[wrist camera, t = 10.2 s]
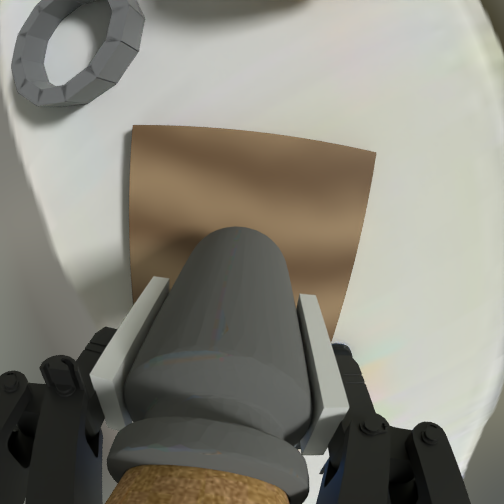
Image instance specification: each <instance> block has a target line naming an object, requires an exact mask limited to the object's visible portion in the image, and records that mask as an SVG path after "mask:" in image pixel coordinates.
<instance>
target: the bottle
mask: <svg viewBox="0 0 504 504" xmlns="http://www.w3.org/2000/svg"><path fill="white" fill-rule="evenodd" d="M124 402H125V405H126V408H127V411H128V413H129V415H130V418H131V419H132V421H133V423H131V424H129V425H127V426H125V427H124V428H122V429H121V430H120V431H119V432H118V434H117V436H116V437H115V439H114V442H113V444H112V447H111V449H110V452H109V455H108V458H107V467H108V471H109V473H110V475H111V476H112V477H113V479H114V480H115V481H116V482H117V483H118V484H117V486H116V487H115V489H114V490H113V492H112V494H111V495H110V497H109V498H108V500H107V501H106V503H105V504H302V503H303V502H304V501H305V499H306V498H307V496H308V493H309V475H308V469H307V464H306V461H305V458H304V457H303V456H302V455H301V453H300V452H299V451H298V449H296V448H295V447H294V446H295V445H296V444H297V443H299V441H300V440H301V439H302V438H303V437H304V436H305V434H306V432H307V430H308V429H309V427H310V424H311V420H312V413H313V411H312V399H311V390H310V384H309V378H308V372H307V366H306V361H305V355H304V349H303V344H302V338H301V333H300V327H299V322H298V316H297V311H296V306H295V301H294V296H293V291H292V287H291V282H290V277H289V272H288V268H287V265H286V261H285V258H284V256H283V254H282V252H281V250H280V249H279V247H278V246H277V245H276V244H275V243H274V242H273V241H272V240H271V239H270V238H269V237H268V236H266V235H264V234H263V233H261V232H259V231H257V230H254V229H250V228H247V227H237V226H234V227H226V228H222V229H219V230H216V231H214V232H212V233H210V234H208V235H207V236H206V237H204V238H203V239H202V240H201V241H200V242H199V243H198V244H197V246H196V247H195V248H194V250H193V251H192V253H191V254H190V256H189V258H188V260H187V261H186V263H185V265H184V266H183V268H182V270H181V272H180V274H179V275H178V277H177V279H176V281H175V283H174V285H173V287H172V288H171V290H170V292H169V294H168V296H167V298H166V300H165V301H164V303H163V305H162V307H161V309H160V311H159V313H158V315H157V317H156V319H155V321H154V322H153V324H152V326H151V328H150V330H149V332H148V334H147V336H146V338H145V340H144V342H143V344H142V346H141V348H140V350H139V352H138V354H137V357H136V359H135V361H134V363H133V366H132V368H131V370H130V372H129V375H128V377H127V379H126V383H125V386H124Z"/></svg>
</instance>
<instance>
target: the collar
mask: <svg viewBox="0 0 504 504" xmlns="http://www.w3.org/2000/svg"><path fill="white" fill-rule="evenodd" d="M93 1H97V0H41V1H40V2H39V3H38V4H37V5H36V6H35V8H34V9H33V11H32V12H31V14H30V15H29V17H28V19H27V20H26V22H25V23H24V25H23V27H22V28H21V30H20V32H19V34H18V36H17V40H16V44H15V49H14V53H13V58H12V64H11V69H12V73H13V77H14V81H15V85H16V88H17V92H18V93H19V94H21V95H22V96H23V97H25V98H26V99H28V100H29V101H30V102H32V103H33V104H35V105H36V106H52V107H63V106H72V105H81V104H88V103H89V102H91V101H92V100H94V99H95V98H96V97H98V96H99V95H101V94H102V93H104V92H105V91H106V90H108V89H109V88H111V87H112V86H114V85H116V83H118V81H119V80H120V78H121V76H122V75H123V73H124V72H125V70H126V69H127V68H128V66H129V65H130V63H131V62H132V60H133V59H134V58H135V56H136V55H137V53H138V52H137V51H139V47H140V42H141V36H142V31H143V26H144V21H145V18H144V15H143V13H142V11H141V9H140V7H139V5H138V3H137V0H108V2H109V5H110V7H111V10H112V15H111V19H110V23H109V28H108V32H107V37H106V40H105V41H104V43H103V44H102V46H101V47H100V49H99V50H98V52H97V53H96V55H95V56H94V58H93V59H92V61H91V62H90V64H89V66H88V67H87V68H85V69H84V70H83V71H81V72H80V73H79V74H77V75H76V76H75V77H74V78H72V79H71V80H70V81H68V82H67V83H66V84H65V85H62V86H54V85H53V84H51V83H49V80H48V77H47V74H46V71H45V67H44V64H43V63H44V58H45V53H46V48H47V43H48V40H49V38H50V37H51V35H52V34H53V32H54V31H55V29H56V27H57V26H58V24H59V23H60V21H61V20H62V19H63V18H64V17H66V16H67V15H68V14H69V13H71V12H72V11H73V10H75V9H76V8H77V7H79V6H80V5H82V4H85V3H89V2H93Z"/></svg>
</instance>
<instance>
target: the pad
mask: <svg viewBox="0 0 504 504" xmlns="http://www.w3.org/2000/svg"><path fill="white" fill-rule="evenodd" d="M375 158H376V152H371V151H367V150H362V149H358V148H353V147H348V146H343V145H338V144H333V143H328V142H322V141H316V140H310V139H304V138H298V137H291V136H284V135H277V134H269V133H261V132H253V131H243V130H233V129H221V128H208V127H191V126H165V125H133V129H132V142H131V159H130V185H129V238H130V264H131V281H132V295H133V305H134V304H135V303H136V301H137V300H138V298H139V297H140V295H141V294H142V292H143V291H144V289H145V288H146V286H147V285H148V284H149V282H150V281H151V279H152V278H153V276H156V277H163V278H169V292H170V290H171V288H172V287H173V285H174V283H175V281H176V279H177V277H178V275H179V274H180V272H181V270H182V268H183V266H184V265H185V263H186V261H187V260H188V258H189V256H190V254H191V253H192V251H193V250H194V248H195V247H196V246H197V244H198V243H199V242H200V241H201V240H202V239H203V238H204V237H206V236H207V235H208V234H210V233H212V232H214V231H216V230H219V229H222V228H226V227H234V226H237V227H247V228H250V229H254V230H257V231H259V232H261V233H263V234H264V235H266V236H268V237H269V238H270V239H271V240H272V241H273V242H274V243H275V244H276V245H277V246H278V247H279V249H280V250H281V252H282V254H283V256H284V258H285V261H286V265H287V268H288V272H289V277H290V282H291V287H292V291H293V296H294V301H295V306H296V308H297V303H298V298H299V294H308V295H316V298H317V301H318V304H319V307H320V310H321V313H322V316H323V319H324V323H325V326H326V329H327V332H328V335H329V339H330V342H331V341H332V338H333V335H334V332H335V329H336V325H337V322H338V319H339V316H340V312H341V309H342V305H343V302H344V298H345V295H346V291H347V288H348V284H349V280H350V276H351V273H352V269H353V265H354V261H355V257H356V253H357V249H358V244H359V240H360V236H361V231H362V227H363V222H364V217H365V213H366V208H367V203H368V198H369V193H370V187H371V182H372V176H373V170H374V164H375Z"/></svg>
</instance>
